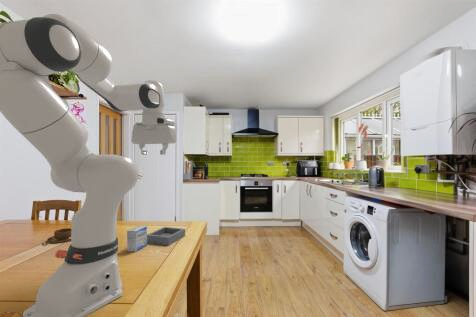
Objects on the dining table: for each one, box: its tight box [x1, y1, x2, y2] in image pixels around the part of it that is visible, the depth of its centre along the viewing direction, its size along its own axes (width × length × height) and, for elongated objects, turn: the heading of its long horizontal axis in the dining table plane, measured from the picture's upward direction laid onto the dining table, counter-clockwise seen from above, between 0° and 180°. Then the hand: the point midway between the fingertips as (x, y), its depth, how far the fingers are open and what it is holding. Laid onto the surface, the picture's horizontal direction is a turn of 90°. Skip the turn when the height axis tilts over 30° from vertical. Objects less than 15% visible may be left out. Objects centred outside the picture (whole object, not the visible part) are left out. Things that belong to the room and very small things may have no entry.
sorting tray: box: [147, 226, 186, 247], centre depth 114 cm, size 12×14×4 cm
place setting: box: [41, 227, 71, 247], centre depth 111 cm, size 18×20×6 cm
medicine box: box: [126, 225, 148, 253], centre depth 102 cm, size 8×4×9 cm, turn 168°
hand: (153, 154), depth 99 cm, fingers open, 8 cm apart
